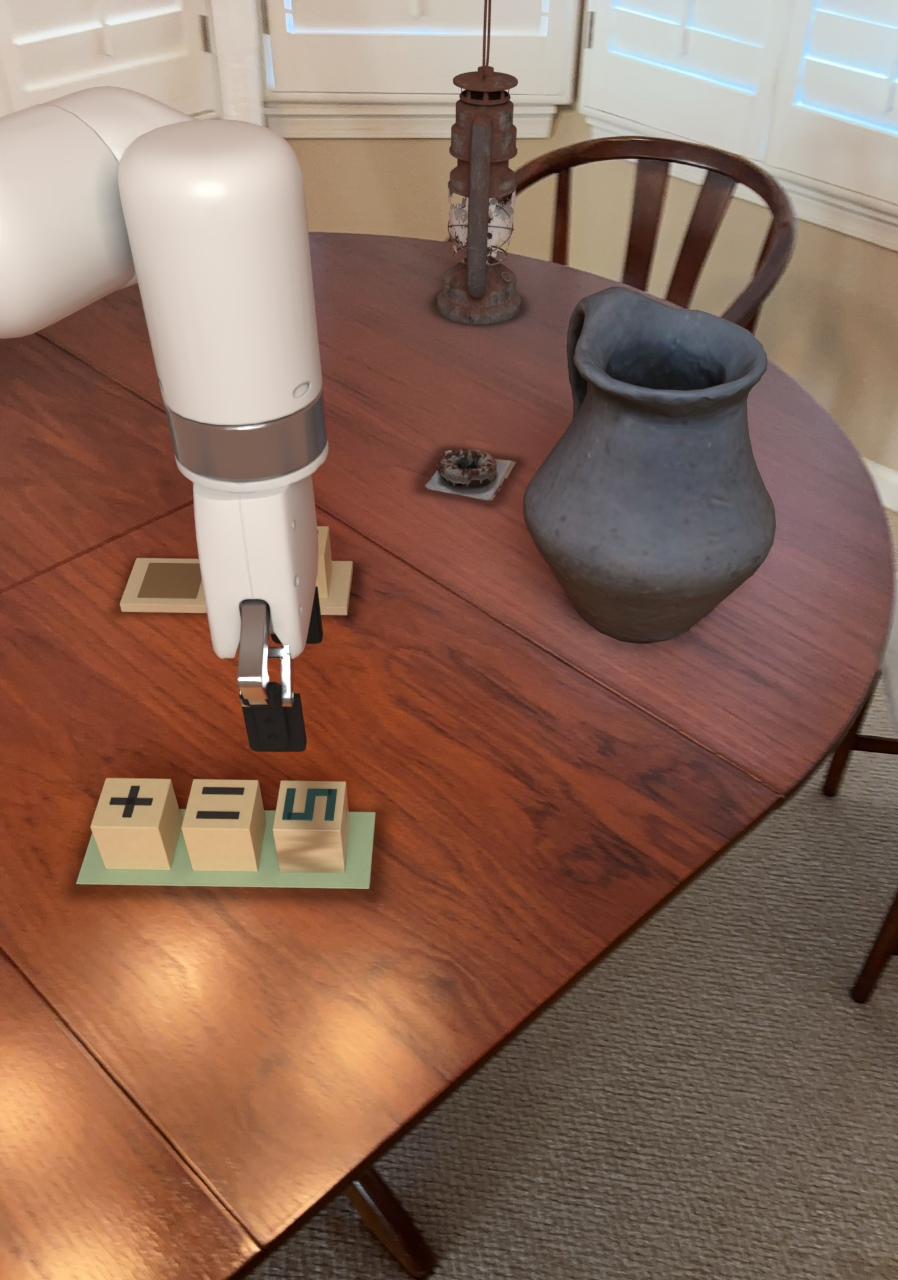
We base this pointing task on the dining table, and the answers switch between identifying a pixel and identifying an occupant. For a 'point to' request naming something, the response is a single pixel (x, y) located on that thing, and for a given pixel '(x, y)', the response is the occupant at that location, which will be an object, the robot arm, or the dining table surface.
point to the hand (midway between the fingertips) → (289, 691)
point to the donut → (470, 474)
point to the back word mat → (182, 587)
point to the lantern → (482, 196)
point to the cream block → (312, 826)
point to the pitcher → (652, 468)
